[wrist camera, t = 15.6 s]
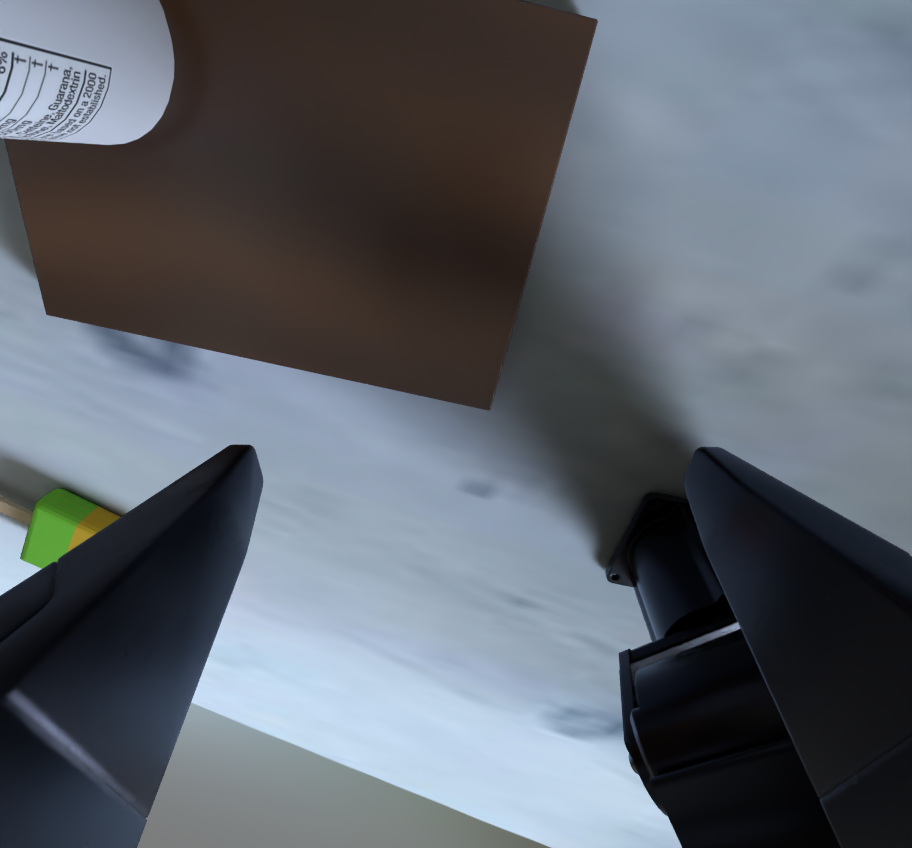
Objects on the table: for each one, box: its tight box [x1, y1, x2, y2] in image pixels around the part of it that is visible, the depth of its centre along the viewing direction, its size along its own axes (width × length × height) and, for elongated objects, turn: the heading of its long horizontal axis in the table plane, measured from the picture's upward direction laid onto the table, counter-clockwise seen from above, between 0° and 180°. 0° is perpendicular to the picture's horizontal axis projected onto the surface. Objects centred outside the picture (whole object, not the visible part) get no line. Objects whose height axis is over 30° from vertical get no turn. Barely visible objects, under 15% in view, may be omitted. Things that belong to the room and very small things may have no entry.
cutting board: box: [4, 0, 598, 410], centre depth 18 cm, size 14×20×2 cm
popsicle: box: [0, 488, 120, 569], centre depth 28 cm, size 6×15×2 cm, turn 55°
